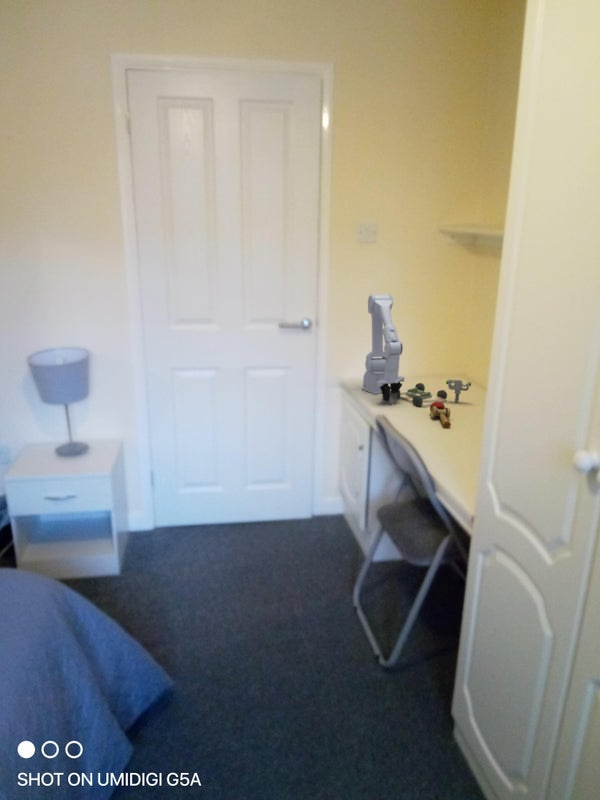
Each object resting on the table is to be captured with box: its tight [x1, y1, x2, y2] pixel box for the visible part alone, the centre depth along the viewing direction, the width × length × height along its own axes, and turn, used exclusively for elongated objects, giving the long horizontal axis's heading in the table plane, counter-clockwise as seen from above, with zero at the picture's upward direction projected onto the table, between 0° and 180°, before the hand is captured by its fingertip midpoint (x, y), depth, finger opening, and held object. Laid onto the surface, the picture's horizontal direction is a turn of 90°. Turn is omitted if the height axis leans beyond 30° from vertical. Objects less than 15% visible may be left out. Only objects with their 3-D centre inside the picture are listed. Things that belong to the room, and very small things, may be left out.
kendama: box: [429, 401, 452, 429], centre depth 236 cm, size 8×6×18 cm
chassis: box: [397, 382, 448, 409], centre depth 262 cm, size 20×17×4 cm
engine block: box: [381, 390, 398, 406], centre depth 256 cm, size 5×4×5 cm
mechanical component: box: [445, 379, 472, 404], centre depth 257 cm, size 3×10×10 cm, turn 78°
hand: (389, 399), depth 256 cm, fingers closed on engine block, 4 cm apart
